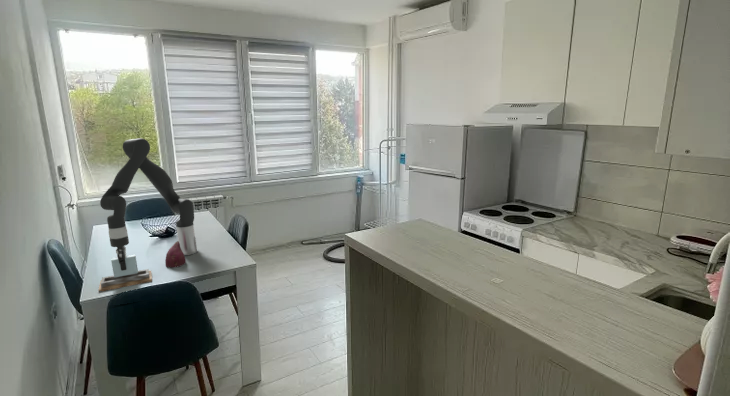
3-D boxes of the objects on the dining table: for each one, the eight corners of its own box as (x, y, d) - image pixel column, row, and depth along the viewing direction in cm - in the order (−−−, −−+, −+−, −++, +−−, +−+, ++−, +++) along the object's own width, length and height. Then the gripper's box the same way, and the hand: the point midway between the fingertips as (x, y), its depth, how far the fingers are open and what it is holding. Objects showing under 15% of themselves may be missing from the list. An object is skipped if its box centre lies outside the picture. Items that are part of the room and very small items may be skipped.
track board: (151, 272, 197) (150, 266, 196) (152, 281, 186) (151, 275, 186) (101, 282, 186) (100, 276, 185) (98, 292, 176) (97, 285, 175)
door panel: (138, 270, 189) (135, 254, 187) (137, 273, 187) (135, 256, 185) (114, 275, 184) (111, 258, 182) (114, 277, 182) (111, 260, 180)
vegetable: (188, 265, 213) (193, 240, 212) (179, 271, 203) (185, 244, 201) (169, 261, 212) (174, 236, 211) (160, 266, 202) (165, 240, 201)
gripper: (127, 238, 176) (132, 272, 180) (128, 230, 188) (133, 262, 192) (108, 241, 173) (114, 275, 177) (110, 233, 185) (115, 265, 188)
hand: (124, 268), depth 184 cm, fingers closed on door panel, 3 cm apart
